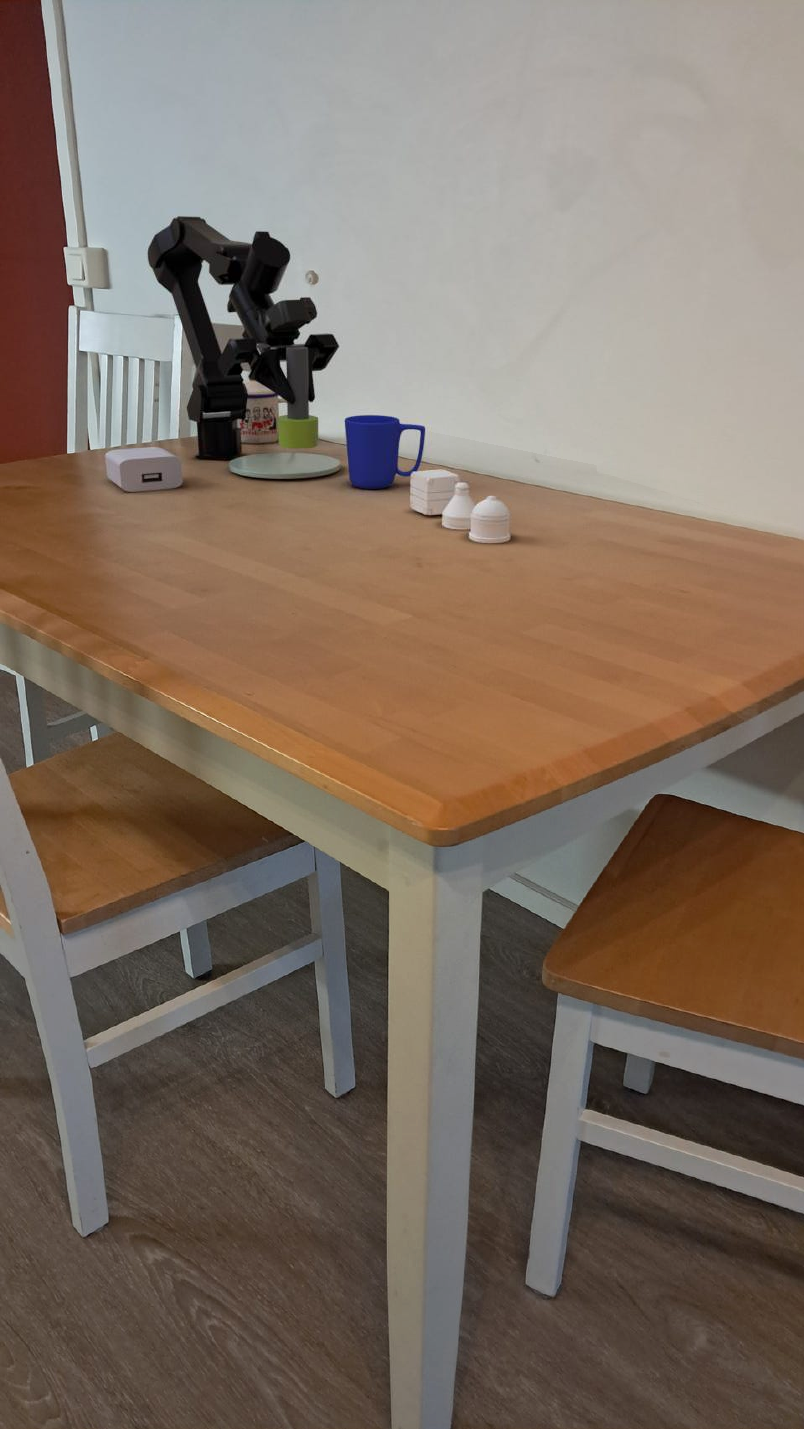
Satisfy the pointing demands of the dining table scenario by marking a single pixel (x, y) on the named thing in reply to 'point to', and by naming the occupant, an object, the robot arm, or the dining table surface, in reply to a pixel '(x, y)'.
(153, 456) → the charger
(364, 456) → the mug
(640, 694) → the dining table surface
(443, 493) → the container set
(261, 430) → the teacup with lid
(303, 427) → the sponge wand
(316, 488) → the dining table surface
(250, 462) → the plate
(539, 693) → the dining table surface
